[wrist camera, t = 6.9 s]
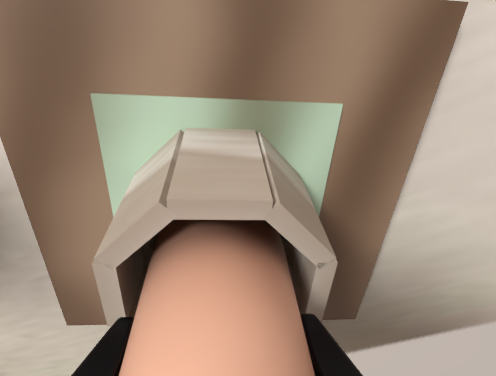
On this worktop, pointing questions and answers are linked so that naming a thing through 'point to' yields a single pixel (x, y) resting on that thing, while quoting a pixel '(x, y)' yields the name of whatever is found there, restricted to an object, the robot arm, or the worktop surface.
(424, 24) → the tube board
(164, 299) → the terracotta peg
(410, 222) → the worktop surface
